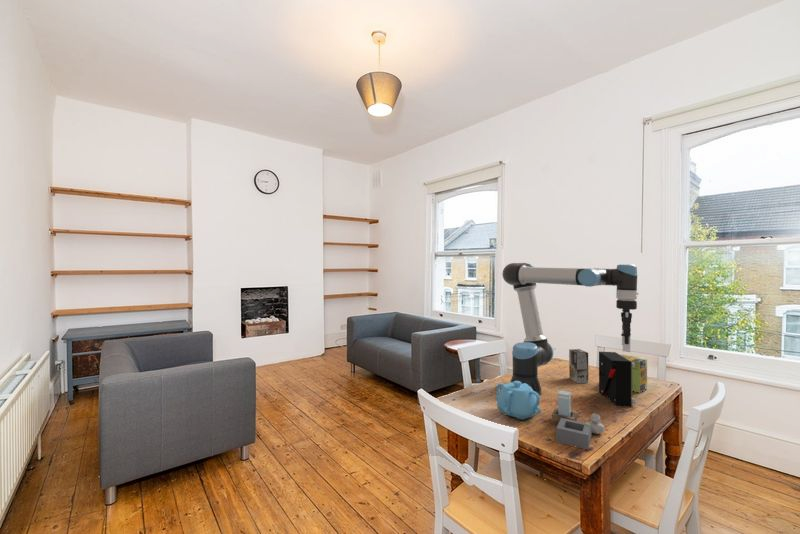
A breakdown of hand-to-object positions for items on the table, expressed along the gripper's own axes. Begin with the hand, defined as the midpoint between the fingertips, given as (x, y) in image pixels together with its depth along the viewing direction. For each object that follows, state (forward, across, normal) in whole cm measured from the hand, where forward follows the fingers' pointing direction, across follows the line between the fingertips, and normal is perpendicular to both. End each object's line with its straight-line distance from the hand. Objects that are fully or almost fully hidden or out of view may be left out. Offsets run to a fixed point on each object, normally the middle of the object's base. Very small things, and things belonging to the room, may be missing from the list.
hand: (625, 348), depth 155 cm
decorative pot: (+27, -31, +39) cm, 56 cm away
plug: (+26, -31, +21) cm, 45 cm away
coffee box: (+27, +32, +20) cm, 46 cm away
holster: (+26, -31, +21) cm, 45 cm away
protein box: (+26, +32, -2) cm, 41 cm away
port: (+26, -44, +16) cm, 53 cm away
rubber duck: (+26, -33, +10) cm, 43 cm away
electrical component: (+26, +10, +3) cm, 28 cm away
